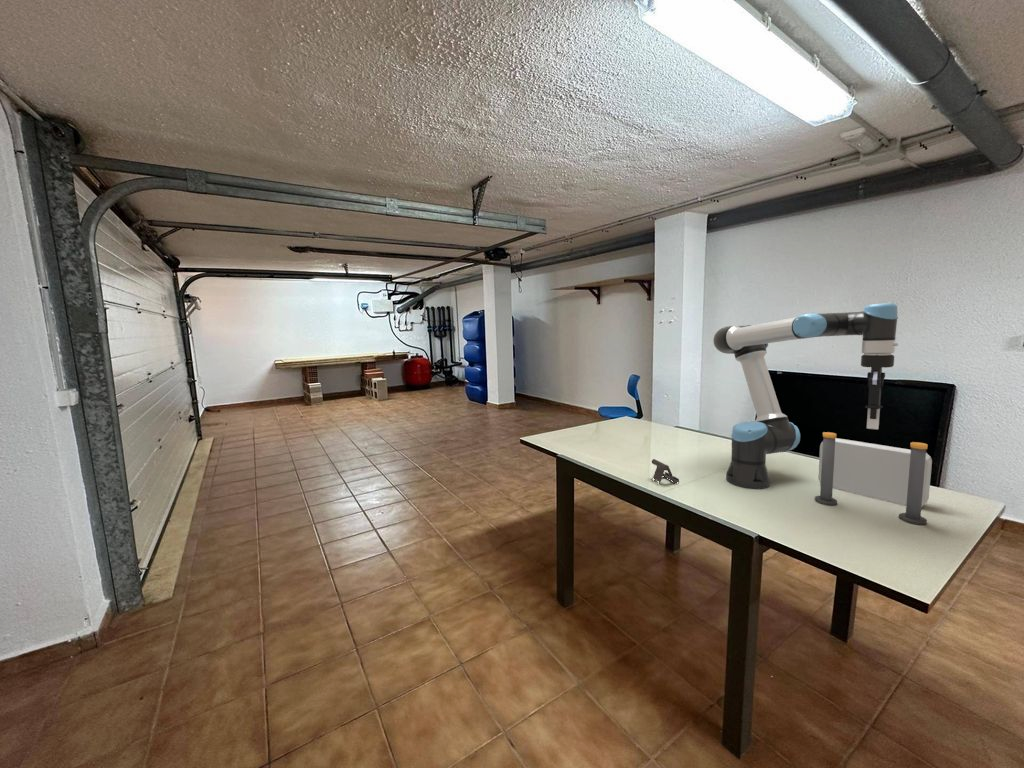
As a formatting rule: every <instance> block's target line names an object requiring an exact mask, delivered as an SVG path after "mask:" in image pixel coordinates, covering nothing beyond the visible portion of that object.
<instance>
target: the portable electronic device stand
mask: <svg viewBox="0 0 1024 768" xmlns="http://www.w3.org/2000/svg"><path fill="white" fill-rule="evenodd" d="M651 464H652V465H654V466H656V469H655V472H654V474H653V476H652V479H653V478H654V479H655V481H656V482H657V481H659V482H660V483H661V481H662V479H663V478H664V477H666V478H668V479H670V480H672V481H673V482H674V483H673V482H672V483H673V484H675V483H677V482H679V483H680V480H679V478H678V477H676V476H674V475H673V473H672V472H671V469H670V466H669V465H667V464H666V463H663V462H661V461H659V460H657V459H655V458H653V459H652V460H651ZM662 476H664V477H662ZM666 478H665V479H666ZM668 479H667V480H668ZM670 480H669V481H670Z"/></svg>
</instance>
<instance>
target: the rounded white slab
mask: <svg viewBox="0 0 1024 768" xmlns="http://www.w3.org/2000/svg"><path fill="white" fill-rule="evenodd" d="M822 453H823V441H821V443H820V445H819V456H818V457H819V459H818V461H819V462H818V477H817V478H818V482H819V483H820V484H821V471H822ZM910 454H911V449H908V448H901V447H896V446H895V447H894V446H889V445H882V444H877V443H869V442H864V441H857V440H850V439H844V438H837V437H836V438H835V455H834V473H833V489H834V490H839V491H842V492H843V491H844V492H848V493H852V494H856V495H861V496H864V497H868V498H872V499H877V500H881V501H884V502H885V501H886V502H889V503H893V504H897V505H902V506H905V507H906V503H907V491H908V478H909V466H910ZM932 464H933V459H932V457H931V456H930V455H929V454H928V452H926V459H925V471H924V482H923V494H922V505H921V507H924V506H925V504H927V502H928V500H929V498H930V486H931V478H932V477H931V475H932Z"/></svg>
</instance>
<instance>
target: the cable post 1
mask: <svg viewBox="0 0 1024 768" xmlns="http://www.w3.org/2000/svg"><path fill="white" fill-rule="evenodd" d="M835 438H837V433H835V432H830V431H827V432H825V431H823V432H822V439H823V440H822V442H823V453H822V471H821V483H820V489H819V490H820V492H819V493H820V494H819V495H816V496H814V501H815V502H816V503H818V504H820V505H824V506H831V507H832V506H837V505H838V500H837V499H836V498H833V489H834V488H833V473H834V455H835Z"/></svg>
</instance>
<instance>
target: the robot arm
mask: <svg viewBox="0 0 1024 768" xmlns="http://www.w3.org/2000/svg"><path fill="white" fill-rule="evenodd" d="M898 318H899V317H898V304H896V303H893V302H890V303H889V302H888V303H887V302H886V303H874V304H867V305H865V306H864V309H863V311H855V312H853V311H852V312H851V311H849V312H828V313H815V312H811V313H805V314H801V315H799V316H796V317H790V318H785V319H779V320H774V321H769V322H764V323H758V324H746V325H728V326H724V327H722V328H719V329H718V330H717V331H716V332H715V334H714V335H713V345H714V347H715V348H716V350H717V351H718V352H721V353H722V354H726V355H727V354H731V355H733V354H734V358H735V360H736V361H737V362H740V364H741V368H742V371H743V374H744V377H745V380H746V384H747V388H748V391H749V394H750V397H751V400H752V404H753V407H754V411H755V414H756V418H755V420H754V421H752V420H751V421H741V422H738V423H735V424H734V425H733V427H732V430H731V460H730V464H729V466H728V467H727V468H728V469H727V471H726V472H725V480H726V482H728V483H730V484H731V485H734V486H738V487H740V488H741V487H742V488H746V489H747V488H748V489H765V488H769V487H770V486H771V477H770V474H769V471H768V468H767V465H766V464H767V463H766V462H767V455H771V454H777V453H778V454H779V453H785V452H786V453H787V452H788V451H792V450H794V449H795V448H797V447H798V445H799V444H800V441H801V432H800V429H799V427H798V426H797V425H795V424H794V423H793V422H791V421H789V418H788V415H786V414H785V413H783V412H782V410H781V407H780V404H779V400H778V398H777V395H776V391H775V388H774V385H773V381H772V379H771V375H770V373H769V369H768V365H767V363H766V358H765V356H766V355H767V353H768V352H767V349H768V347H769V344H772V343H773V344H774V343H780V342H787V341H794V340H802V339H809V338H810V339H811V338H820V337H842V336H844V337H845V336H862V341H861V353H862V355H861V359H860V366H861V367H862V368H863V367H864V368H870V369H871V370H870V371H868V372H867V376H866V377H867V387H868V404H867V405H865V407H864V409H867V414H866V415H867V416H866V417H867V419H866V429H868V430H879V429H880V428H879V426H880V413H881V412H880V411H881V409H883V407H884V405H881V397H882V388H883V386H884V380H885V378H886V372H883V368H885V369H886V368H892V367H894V366H895V365H894V364H895V355H894V353H895V352H896V351H895V349H896V347H898V345H899V343H898V342H896V335H897V324H898Z"/></svg>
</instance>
